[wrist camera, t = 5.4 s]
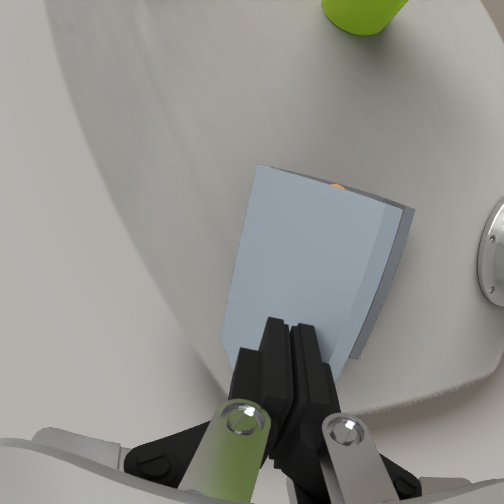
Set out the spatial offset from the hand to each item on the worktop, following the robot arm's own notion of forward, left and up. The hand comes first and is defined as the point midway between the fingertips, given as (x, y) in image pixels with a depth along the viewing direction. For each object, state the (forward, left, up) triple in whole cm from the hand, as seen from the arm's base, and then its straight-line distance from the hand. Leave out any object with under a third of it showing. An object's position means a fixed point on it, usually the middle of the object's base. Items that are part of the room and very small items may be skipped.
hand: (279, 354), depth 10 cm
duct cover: (0, 0, -4) cm, 4 cm away
